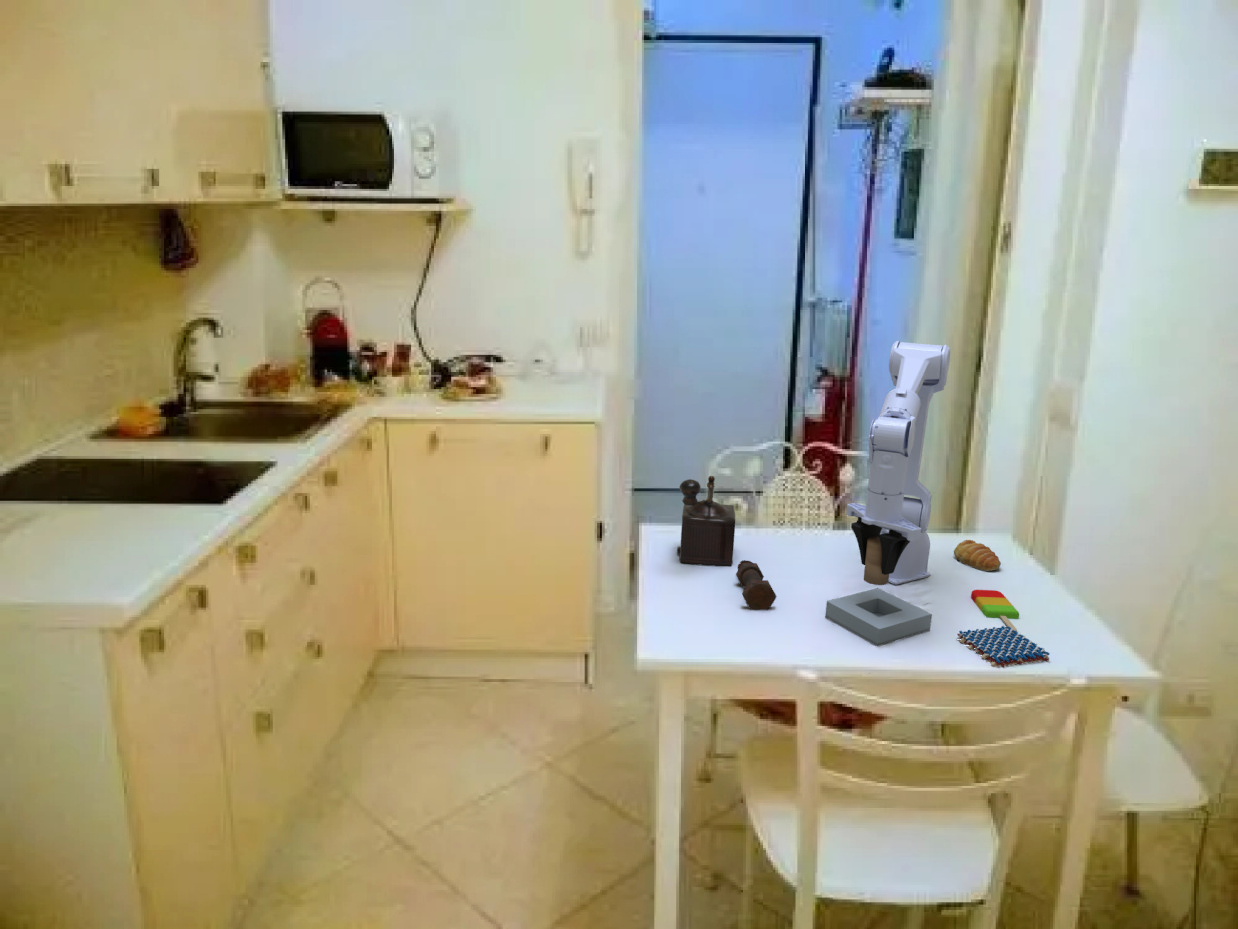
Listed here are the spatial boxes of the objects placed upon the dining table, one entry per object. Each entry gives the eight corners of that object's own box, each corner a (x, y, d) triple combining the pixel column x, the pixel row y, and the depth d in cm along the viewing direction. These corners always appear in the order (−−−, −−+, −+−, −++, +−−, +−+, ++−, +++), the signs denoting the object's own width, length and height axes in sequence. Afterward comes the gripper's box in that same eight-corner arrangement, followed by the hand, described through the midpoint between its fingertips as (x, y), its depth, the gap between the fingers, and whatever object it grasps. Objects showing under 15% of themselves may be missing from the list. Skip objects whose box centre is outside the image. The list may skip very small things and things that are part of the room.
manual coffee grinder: (677, 544, 186) (681, 460, 181) (732, 547, 185) (737, 462, 180) (675, 573, 171) (678, 482, 166) (734, 577, 170) (739, 485, 165)
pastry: (1009, 571, 177) (1011, 553, 176) (981, 575, 174) (983, 557, 173) (975, 554, 185) (977, 536, 184) (948, 558, 183) (950, 540, 182)
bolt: (748, 585, 171) (763, 617, 157) (726, 573, 171) (738, 604, 156) (765, 560, 170) (781, 590, 156) (742, 547, 170) (757, 576, 155)
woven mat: (1006, 634, 151) (1008, 623, 150) (1051, 664, 141) (1053, 652, 140) (952, 640, 148) (953, 629, 148) (994, 671, 138) (995, 659, 138)
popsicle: (999, 599, 165) (1000, 589, 164) (1031, 637, 150) (1032, 626, 150) (968, 598, 165) (969, 588, 164) (997, 635, 150) (998, 625, 150)
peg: (874, 574, 154) (878, 535, 152) (893, 582, 151) (897, 542, 149) (858, 578, 152) (862, 539, 150) (877, 587, 149) (881, 546, 147)
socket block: (876, 603, 160) (877, 587, 159) (929, 630, 150) (932, 614, 149) (825, 617, 154) (826, 601, 153) (877, 646, 144) (879, 629, 143)
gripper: (836, 481, 151) (829, 557, 155) (902, 506, 139) (892, 588, 143) (867, 476, 155) (859, 551, 158) (934, 500, 143) (924, 580, 146)
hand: (877, 568), depth 151 cm, fingers closed on peg, 4 cm apart
